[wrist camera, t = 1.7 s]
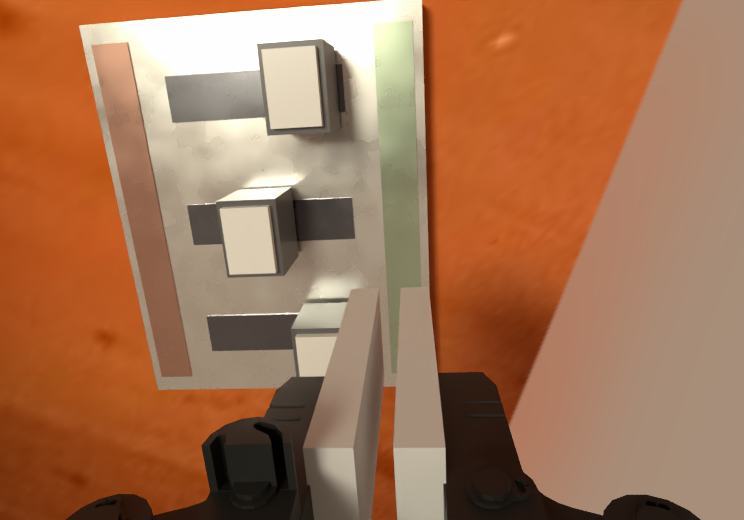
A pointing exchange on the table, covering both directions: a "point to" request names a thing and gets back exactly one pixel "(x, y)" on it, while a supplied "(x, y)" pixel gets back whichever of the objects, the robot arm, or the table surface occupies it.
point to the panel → (261, 179)
